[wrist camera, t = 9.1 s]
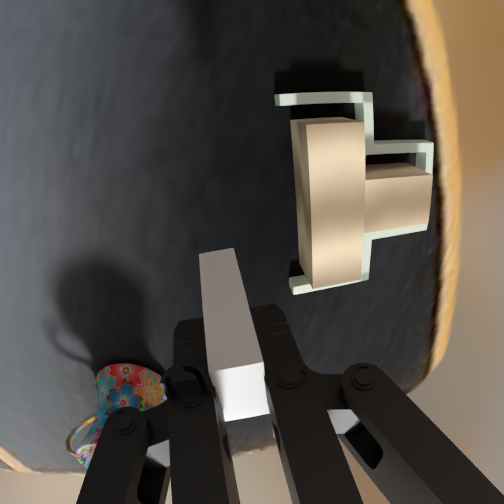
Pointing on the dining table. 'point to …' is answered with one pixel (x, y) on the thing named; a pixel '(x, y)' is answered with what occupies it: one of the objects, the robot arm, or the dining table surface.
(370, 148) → the jig
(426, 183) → the t block
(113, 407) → the mug
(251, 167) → the dining table surface
